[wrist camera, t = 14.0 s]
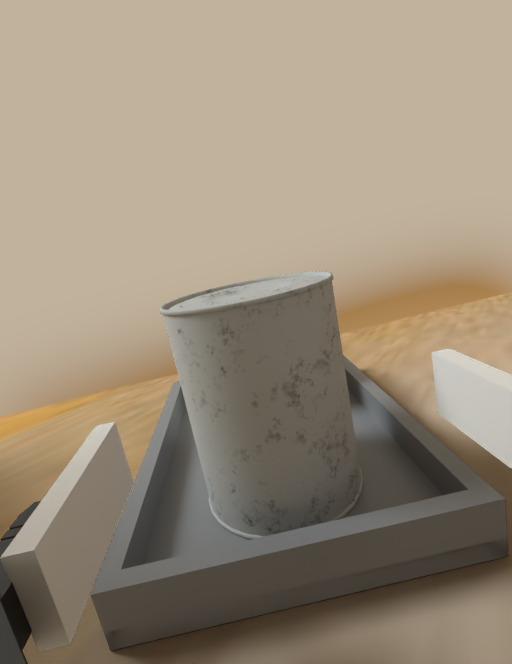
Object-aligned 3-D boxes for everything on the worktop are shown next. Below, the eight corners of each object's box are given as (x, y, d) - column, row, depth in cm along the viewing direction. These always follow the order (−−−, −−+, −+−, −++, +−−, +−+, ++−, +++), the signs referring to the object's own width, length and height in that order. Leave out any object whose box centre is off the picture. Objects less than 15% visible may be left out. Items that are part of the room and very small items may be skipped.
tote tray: (508, 556, 17) (505, 498, 16) (110, 650, 16) (90, 594, 16) (338, 373, 42) (334, 347, 42) (180, 407, 42) (173, 382, 41)
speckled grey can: (347, 433, 28) (321, 266, 25) (383, 529, 19) (348, 281, 16) (221, 451, 29) (183, 293, 26) (194, 552, 19) (131, 322, 17)
